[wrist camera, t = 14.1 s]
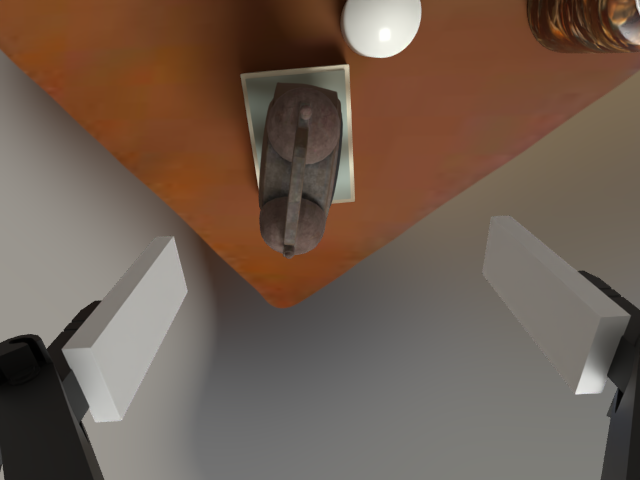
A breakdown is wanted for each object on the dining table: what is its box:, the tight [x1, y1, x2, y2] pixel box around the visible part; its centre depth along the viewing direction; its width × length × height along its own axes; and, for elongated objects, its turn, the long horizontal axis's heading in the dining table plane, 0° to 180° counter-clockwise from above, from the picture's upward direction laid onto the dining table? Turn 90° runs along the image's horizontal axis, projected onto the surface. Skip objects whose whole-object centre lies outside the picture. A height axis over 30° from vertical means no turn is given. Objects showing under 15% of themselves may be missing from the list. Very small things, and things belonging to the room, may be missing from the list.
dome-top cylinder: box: [340, 0, 421, 58], centre depth 39 cm, size 7×7×8 cm
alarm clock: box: [259, 82, 343, 259], centre depth 36 cm, size 14×7×20 cm, turn 172°
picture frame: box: [240, 64, 355, 203], centre depth 47 cm, size 16×12×3 cm
